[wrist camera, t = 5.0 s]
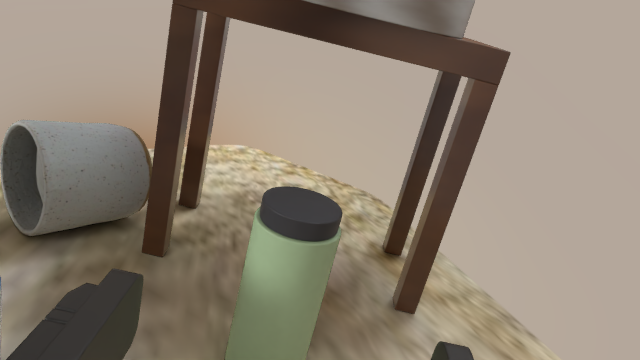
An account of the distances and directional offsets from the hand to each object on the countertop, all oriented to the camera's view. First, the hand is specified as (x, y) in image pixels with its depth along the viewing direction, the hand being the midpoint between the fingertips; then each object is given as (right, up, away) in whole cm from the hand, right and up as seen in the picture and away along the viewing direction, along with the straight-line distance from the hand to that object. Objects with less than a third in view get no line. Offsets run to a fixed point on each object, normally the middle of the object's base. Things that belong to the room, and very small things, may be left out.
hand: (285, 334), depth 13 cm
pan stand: (-2, 0, +30) cm, 30 cm away
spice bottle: (-2, -6, +15) cm, 16 cm away
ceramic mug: (-18, +1, +24) cm, 30 cm away
